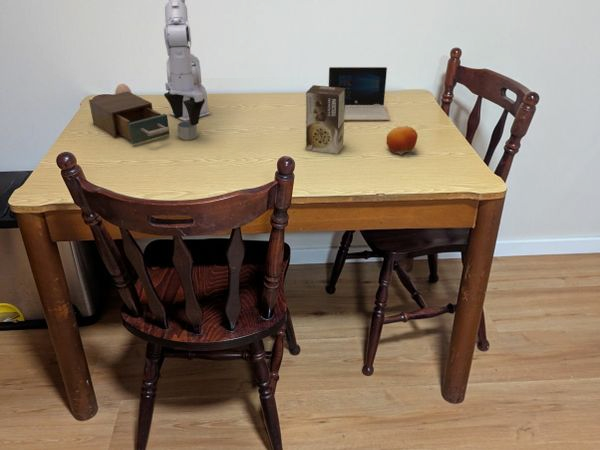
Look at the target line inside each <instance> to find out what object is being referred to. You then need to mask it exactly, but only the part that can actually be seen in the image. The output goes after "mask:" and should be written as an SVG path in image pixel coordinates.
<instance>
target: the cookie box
mask: <svg viewBox="0 0 600 450" xmlns="http://www.w3.org/2000/svg"><path fill="white" fill-rule="evenodd" d="M345 106H346V105H345V88H338V87H329V85H328V86H326V85H316V84H313V85H311V87H310V88H309V89H308V90H307V91H306V92H305V150H306V151H312V152H321V153H327V154H336V155H338V154H339V153H340V151H341V150H342V149H343V148H344V136H345V135H344V134H345V121H344V111H345Z"/></svg>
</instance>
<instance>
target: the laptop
mask: <svg viewBox="0 0 600 450" xmlns="http://www.w3.org/2000/svg"><path fill="white" fill-rule="evenodd" d="M387 73H388V67H387V66H329V68H328V87H338V88H345V111H344V122H346V121H350V122H351V121H353V122H354V121H356V122H357V121H363V122H364V121H390V117H389V114H388V112H387V110H386V107H385V106H384V105H385V97H386V85H387V84H386V83H387Z"/></svg>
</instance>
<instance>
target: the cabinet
mask: <svg viewBox="0 0 600 450" xmlns="http://www.w3.org/2000/svg"><path fill="white" fill-rule="evenodd" d="M88 103H89V108H90V113H91V119H92V124H93V125H94V126H96V127H98V128H99V129H101V131H104V132H106V133H107V134H108V135H109V136H112V137H113V138H115V139H117V138H121V137H124V136H123V135H121V134H119V133H118V132H117V129H116V124H115V118H114V114H118V113H122V112H127V111H131V110H135V109H139V108H143V107H149V108H151V109H153V103H152V102H150V101H148V100H146V99H144V98H143V97H140V96H138V95H137V94H134V93H132V92H131V93H130V92H128V91H127V92H123V93H118V94H115V93H114V94H110V95H109V94H108V95H105V96H100V97H96V98H92V99H88Z"/></svg>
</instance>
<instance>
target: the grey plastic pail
mask: <svg viewBox="0 0 600 450" xmlns="http://www.w3.org/2000/svg"><path fill="white" fill-rule="evenodd" d="M176 126H177V134H178V135H177V136H178V138H179V139H181V140H183V141H192V140H195V139H197V138H198V136H199V133H198V124H196V125H191V124H190V120H187V121H183V120H182V121H180V122H178V123H177V125H176Z"/></svg>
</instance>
